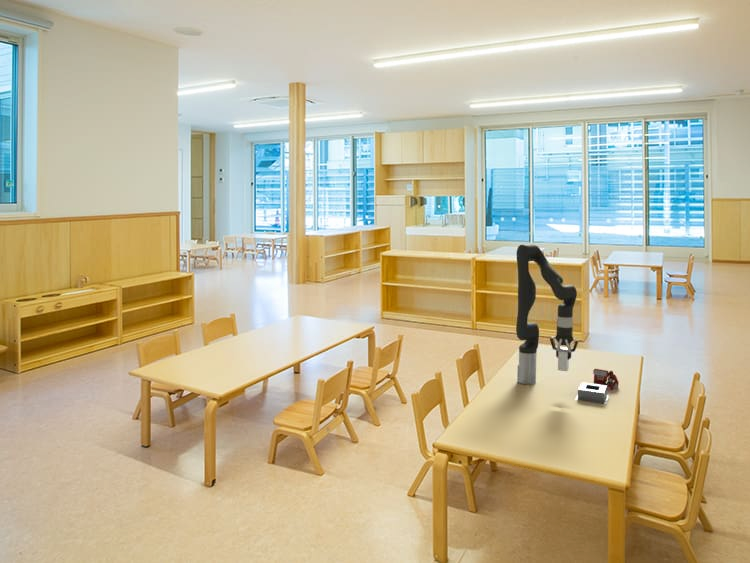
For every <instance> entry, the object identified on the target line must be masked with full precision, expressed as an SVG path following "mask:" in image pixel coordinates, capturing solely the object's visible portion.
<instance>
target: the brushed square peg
mask: <svg viewBox="0 0 750 563" xmlns="http://www.w3.org/2000/svg"><path fill="white" fill-rule="evenodd" d="M557 359H558V360H557V371H561V372H568V370H569V368H570V366H569V365H570V363H569V362H570V359H569V360H568V348H567V346H566V347H565V346H560V348H559V350H558V358H557Z"/></svg>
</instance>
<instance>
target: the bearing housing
mask: <svg viewBox="0 0 750 563" xmlns="http://www.w3.org/2000/svg"><path fill="white" fill-rule="evenodd" d="M607 393H608V389H607V385H599V384H594V383H593V382H592V383H590V382H585V381H584V382H583V381H582V382H581V383H580V384H579V386H578V389H577V394H576V397H575V401H582V402H587V403H588V402H589V403H595V404H601V405H607V403H608V399H609V396H610V394H607Z"/></svg>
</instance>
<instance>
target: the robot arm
mask: <svg viewBox="0 0 750 563" xmlns="http://www.w3.org/2000/svg"><path fill="white" fill-rule="evenodd" d="M529 262H534V263H535V264H536V265H537V266H538V267H539V269H540V270H539V271H540V274H541V277H542V279H543V280H544V281H545V282H546V283H547V284H548V285H549V287H550V288H551V291H552V293H553V295H554V296H555V298H556V299H558V300H560V301H562V303H560V304H559V305H558V306H557V317H556V336H551V337H550V339H549V341H550V344H551V348H552V350H555V356H556V358H557V359H558V350H559V348H560V347H562V346H564V347H565V346H566V347H567V348H568V360H569V361H570V359H571V358H572V353H574V352H575V351H576V350H577V347H578V344H579V341H580V340H579V339H575V338H574V336H573V332H574V331H573V330H574V329H573V328H574V327H573V326H574V319H573V317H574V316H573V315H574V306H575V303H576V299H577V294H578V292H577V289H576V287H575V285H573V284H566V285H563V283H564V279H563V278H562V276H561V275H560V274H559V273H558V272H557V271H556V270H555V269H554V268H553V266H552V265H551V263H550V262H549V261H548V259H547V258H546V256H545V255H544V253H543V252H542V250H541V249H540V247H539V246H538V245H537V244H535V243H527V244H526V243H525V244H524V243H523V244H520V245H518V246H517V249H516V263H517V264H516V265H517V282H518V283H517V315H516V316H517V317H516V324H515V330H516V337H517V338H518V339H519V340H520V341H524V342H523V343H521V344H520V345H519V346H518V364H517V374H516V375H517V376H516V377H517V378H516V379H517V380H516V381H517V383H518V382H519V383H518V384H522V385H528V386H529V385H535V384H537V351H538V348H539V340H540V338H539V337H540V329H539V326H538V324H537V323H536V322H535V321H528V318H529V313H530V311H531V309H533V306H534V304H535V301H536V296H537V286H536V283H535V282H534V279H533V278H532V276H531V273H530V269H529V268H530V266H529ZM555 341H556V342H557V346H556V342H555ZM572 342H573V344H574V345H573V348H572V346H571V343H572Z"/></svg>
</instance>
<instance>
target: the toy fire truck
mask: <svg viewBox="0 0 750 563" xmlns="http://www.w3.org/2000/svg"><path fill="white" fill-rule="evenodd" d="M592 372H593V384H599V385H607V390H610V391H613V390H614V389H615V390H617V389H619V385H620V384H619V380H618V378H617V375H616V374H614V371H613V370H606V369H600V368H594V369H593V370H592Z"/></svg>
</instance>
